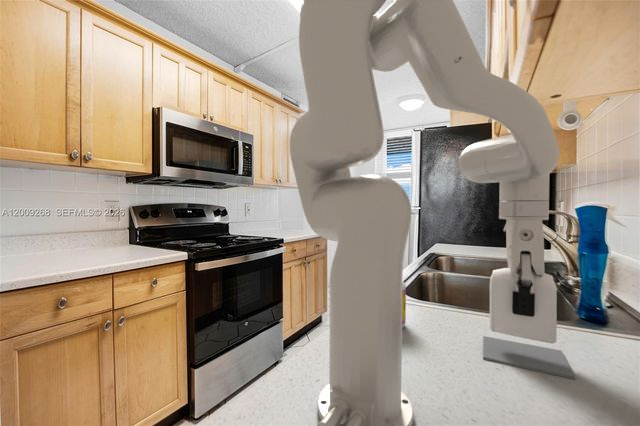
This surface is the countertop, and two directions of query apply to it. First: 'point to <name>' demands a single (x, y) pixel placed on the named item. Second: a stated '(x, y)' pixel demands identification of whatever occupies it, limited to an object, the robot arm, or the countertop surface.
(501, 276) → the photo printer
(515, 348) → the mat
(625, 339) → the countertop surface
